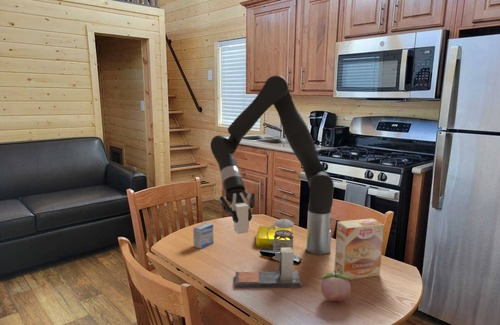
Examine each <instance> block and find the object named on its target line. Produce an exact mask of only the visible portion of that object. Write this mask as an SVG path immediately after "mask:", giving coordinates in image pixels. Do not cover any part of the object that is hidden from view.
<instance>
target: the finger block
mask: <svg viewBox="0 0 500 325" xmlns="http://www.w3.org/2000/svg"><path fill="white" fill-rule="evenodd" d="M248 205H249V204H248ZM248 205H247V204H245V203H237V204H235V211H236V213H237V217H238V222H237V223H235V221H233V228H234V229H233V230H234V232H235V233H236V234H237V235H240V234H246V233H249V229H250V228H249V226H250V225H249V222H250V221H248V218H249V209H248Z"/></svg>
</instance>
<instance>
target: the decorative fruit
mask: <svg viewBox="0 0 500 325" xmlns="http://www.w3.org/2000/svg"><path fill="white" fill-rule="evenodd" d="M319 279H321V280H320V292H321V294H322V295H323V296H324V297H325V298H326V299H328V300H329V301H331V302H340V301H342V300H345V298H347V297H348V296H349V294H350V292H351V291H352V290H351V289H352V288H351V283H350V281H352V279H350V278H349V277H348V276H347V275H345V274H340V273H336V271H335V272H334V271H333V272H328V273H325V274H323V275H322V276H320V277H319Z"/></svg>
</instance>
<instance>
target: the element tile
mask: <svg viewBox="0 0 500 325" xmlns="http://www.w3.org/2000/svg"><path fill="white" fill-rule="evenodd" d="M269 227H270V229H269ZM273 227H274V226H272V228H271V226H270V225H269V226H264V225H260V226H259V227H258V228H257V233H256V237H255V238H256V239H255V245H256V247H259V248H270V249H273V244H274V243H273V242H274V235H275V232H276V231H278V230H283V228H280V227H277V226H275V229H274V228H273ZM268 229H269V230H268ZM284 230H288V231H290V232H292V229H291V227H290V228H284ZM267 231H268V236H267ZM267 237H269V239H270V240H271V241H272V242H271V241H270V240H269V239H267ZM278 238H280V237H277V239H278ZM284 238H286V239H288V238H287V237H284ZM268 240H269V241H270V242H271V243H272V244H271V243H270V242H269V241H268ZM279 240H285V239H279ZM288 240H290V239H288ZM285 241H287V240H285ZM277 244H279V243H277ZM281 245H282V244H281ZM283 246H285V245H283ZM277 247H279V246H277ZM285 247H287V246H285ZM289 247H290V246H289Z"/></svg>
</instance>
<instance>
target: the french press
mask: <svg viewBox="0 0 500 325" xmlns="http://www.w3.org/2000/svg"><path fill="white" fill-rule="evenodd" d="M281 199H282V200H283V212H285V209H286V208H285V206H286V205H285V204H286V202H285V201H286V200H288V197H287V196H286V195H283V196H282V198H281ZM293 226H295V222H293V221H292V220H290V219H287V218H281V219H277V220H275V221H274V222H273V225H270V226H269V229H270V227H271V228H272V227H273V228H274V229H275V227H280V228H283V230H278V231H276V232H275V235H274V242H273V243H274V244H273V248H272V252H273V251H274V253H275V252H280V248H292V249H293V250H294V236H293V232H292V231H291V232H290V231H288V230H284V228H290V229H291V228H293ZM269 229H268V230H269ZM267 236H268V231H267ZM277 237H280V238H278V239H277ZM284 237H287V238H288V239H290V240H288V239H286V238H284ZM267 239H269V237H267ZM279 239H285V240H287V241H285V240H279ZM269 240H270V239H269ZM269 240H268V241H269ZM270 241H271V240H270ZM270 241H269V242H270ZM271 242H272V241H271ZM271 242H270V243H271ZM277 243H279V244H277ZM271 244H272V243H271ZM281 244H282V245H281ZM283 245H285V246H287V247H285V246H283ZM277 246H279V247H277ZM289 246H290V247H289ZM279 257H280V253H275V256H273V257H271V258H272V259H273V260H274V261H276V262H277V261H278V262H279Z"/></svg>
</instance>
